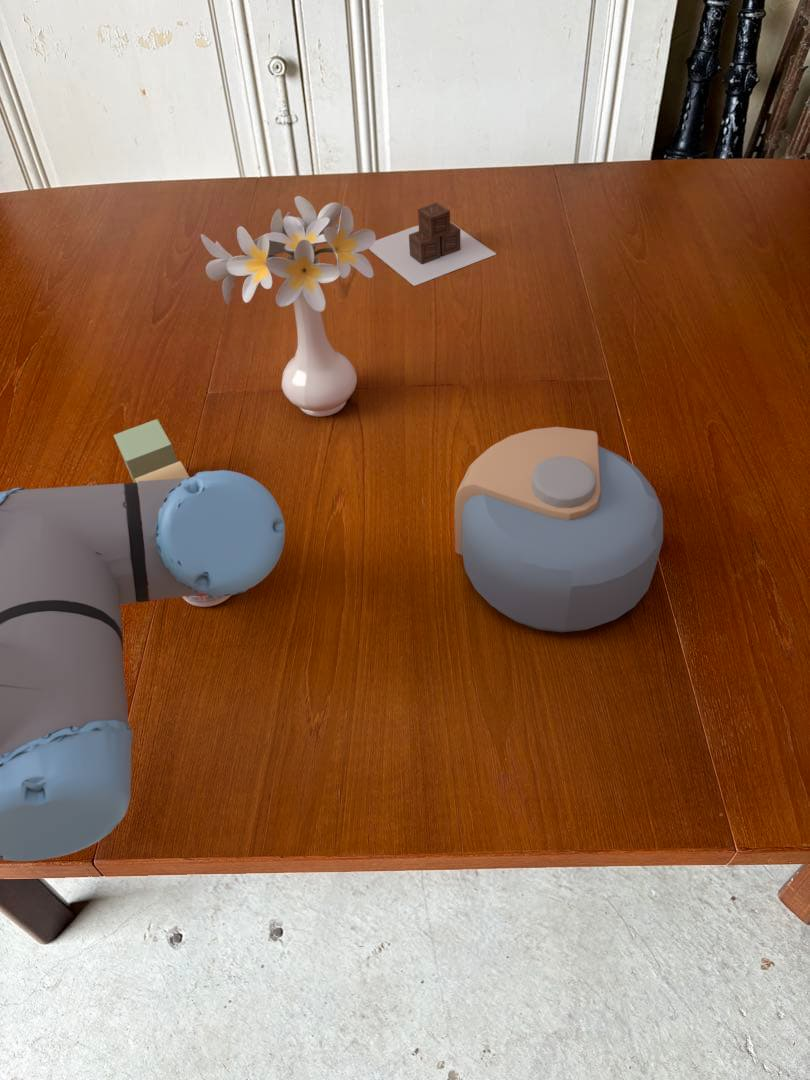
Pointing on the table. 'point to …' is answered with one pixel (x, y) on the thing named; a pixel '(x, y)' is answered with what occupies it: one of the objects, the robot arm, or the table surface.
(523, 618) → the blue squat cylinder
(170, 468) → the maple block
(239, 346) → the table surface
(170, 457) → the sage block
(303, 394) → the flower vase
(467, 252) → the stack of crates
